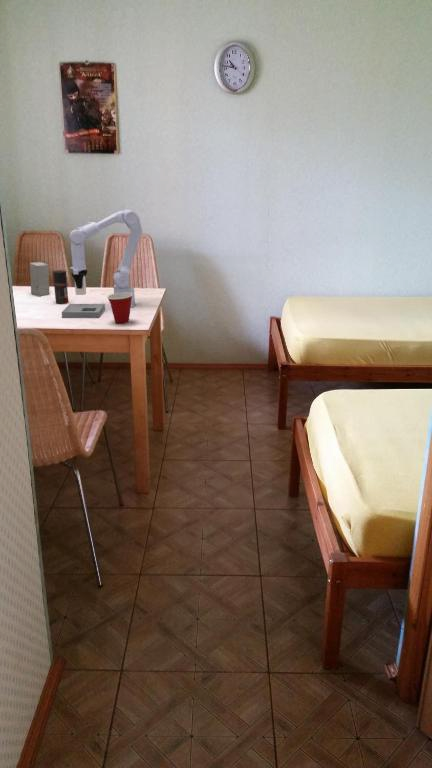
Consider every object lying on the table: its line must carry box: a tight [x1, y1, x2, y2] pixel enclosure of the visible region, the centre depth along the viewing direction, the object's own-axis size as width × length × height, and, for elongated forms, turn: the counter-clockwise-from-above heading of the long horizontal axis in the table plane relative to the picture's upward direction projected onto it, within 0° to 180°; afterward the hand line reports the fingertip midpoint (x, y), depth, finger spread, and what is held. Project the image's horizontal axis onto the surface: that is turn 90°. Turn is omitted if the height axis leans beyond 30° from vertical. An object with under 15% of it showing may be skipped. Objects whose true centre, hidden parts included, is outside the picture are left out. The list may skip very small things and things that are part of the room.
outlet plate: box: [61, 303, 106, 319], centre depth 277 cm, size 16×16×2 cm
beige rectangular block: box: [74, 276, 87, 296], centre depth 283 cm, size 4×4×8 cm
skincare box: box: [29, 261, 51, 297], centre depth 312 cm, size 8×7×16 cm
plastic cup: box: [106, 292, 133, 325], centre depth 262 cm, size 11×11×12 cm
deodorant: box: [52, 269, 69, 305], centre depth 295 cm, size 6×6×15 cm
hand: (80, 287), depth 283 cm, fingers closed on beige rectangular block, 4 cm apart
